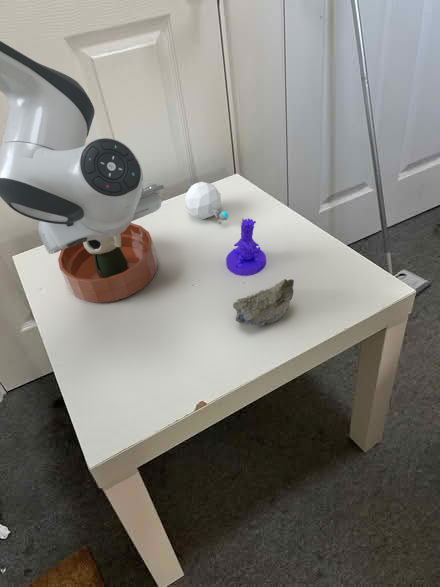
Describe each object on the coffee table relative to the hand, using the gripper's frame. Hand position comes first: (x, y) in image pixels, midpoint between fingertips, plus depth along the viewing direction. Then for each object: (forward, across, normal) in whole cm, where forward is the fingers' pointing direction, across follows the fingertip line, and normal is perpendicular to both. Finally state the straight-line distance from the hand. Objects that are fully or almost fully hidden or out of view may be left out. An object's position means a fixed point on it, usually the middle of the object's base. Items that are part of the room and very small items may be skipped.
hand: (100, 229), depth 82 cm
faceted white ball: (+14, -25, +4) cm, 29 cm away
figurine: (+2, -23, +17) cm, 28 cm away
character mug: (+11, 0, +6) cm, 13 cm away
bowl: (+12, 0, +6) cm, 13 cm away
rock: (-8, -18, +26) cm, 32 cm away
